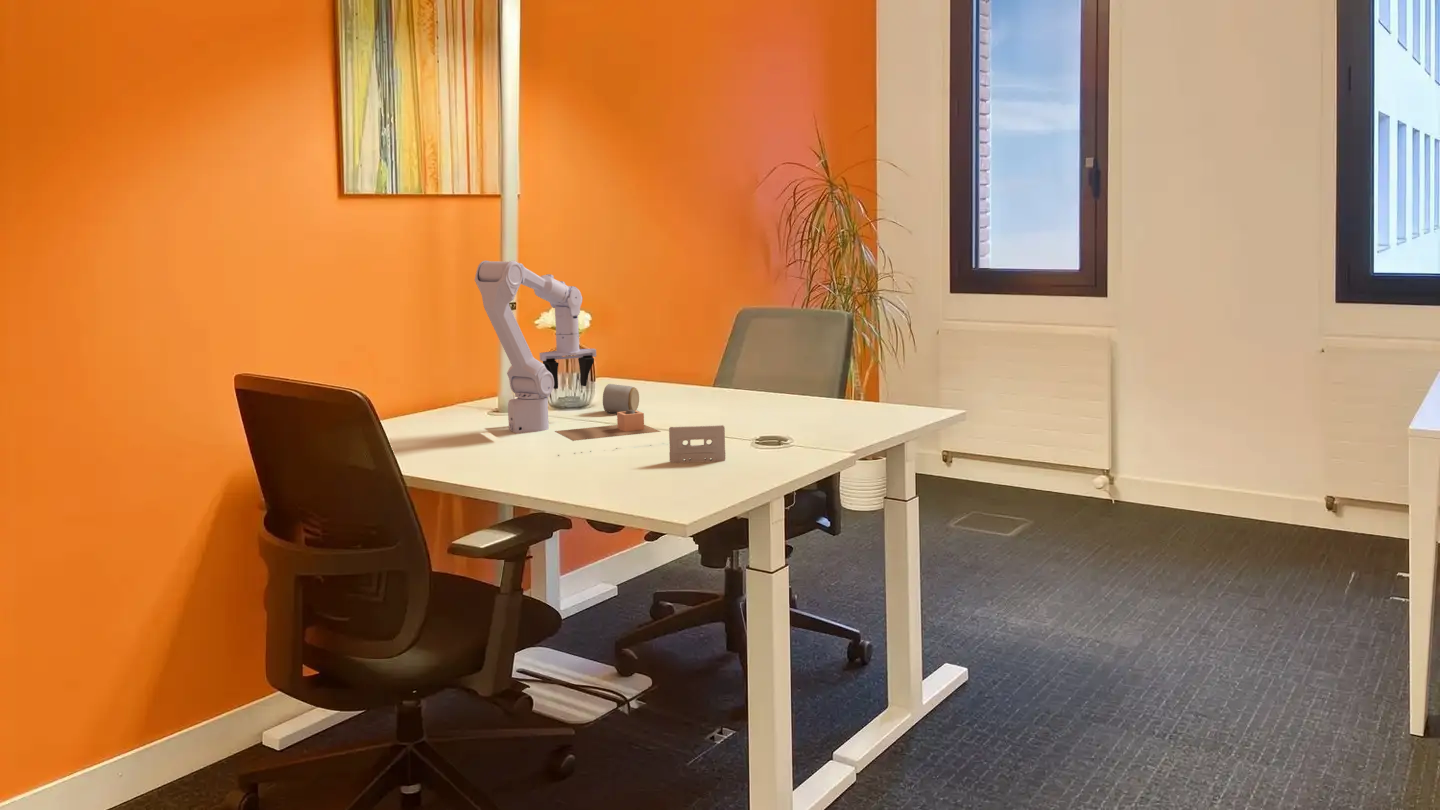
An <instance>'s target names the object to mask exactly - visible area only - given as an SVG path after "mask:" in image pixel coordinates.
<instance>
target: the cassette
mask: <svg viewBox="0 0 1440 810" xmlns="http://www.w3.org/2000/svg"><path fill="white" fill-rule="evenodd" d="M725 430H726V429H725V426H724V425H723V424H722V425H721V424H719V425H693V426H692V425H689V426H669V428H668V434H669V435H668V438H669V440H668V441H669V462H670V463H702V462H703V463H704V462H705V463H706V462H707V463H708V462H722V461H726V441H725V440H726V437H725V432H726V431H725ZM694 440H695V441H696V440H703V444H691V441H694ZM709 440H710V441H711V443H707V442H708V441H709ZM684 441H687V444H684Z"/></svg>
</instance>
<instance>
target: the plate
mask: <svg viewBox="0 0 1440 810" xmlns="http://www.w3.org/2000/svg"><path fill="white" fill-rule="evenodd" d="M626 414H635V410H626ZM554 432H555V433H557V434H559V435H561V436H562V437H565V438H567V439H569V440H571V441H572V442H574V441H582V440H593V439H594V440H595V439H601V438H602V439H603V438H613V437H621V436H622V437H623V436H632V435H642V434H651V433H661V432H662V431H661V430H658V429H655V428H654V427H652V426H649V425H646V424H644V430H635V431H623V430H620V429H618V426H617V424H612V425H602V426H593V427H583V428H572V429H563V430H555V431H554Z"/></svg>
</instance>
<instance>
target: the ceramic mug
mask: <svg viewBox="0 0 1440 810" xmlns="http://www.w3.org/2000/svg"><path fill="white" fill-rule="evenodd" d="M639 393H640V392H639V390H638V389H637V388H636V387H635V386H630V385H623V384H616V383H615V384H614V383H607V384H606V386H605V387H604V390H603V394H602V407H603V408H602V409H603V410H604V411H605V412H606V413H614V414H617V412H624V411H626V410H637V411H638V408H639V403H640V394H639Z"/></svg>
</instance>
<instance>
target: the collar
mask: <svg viewBox="0 0 1440 810" xmlns="http://www.w3.org/2000/svg"><path fill="white" fill-rule="evenodd" d="M616 418H617V419H616V423H617V424H616V425H617V426H618V429H620V430H623V431H635V430H644V425H645V414H644V412H641V411H638V409H637V410H635V414H626V411H624V412H617V413H616Z"/></svg>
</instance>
